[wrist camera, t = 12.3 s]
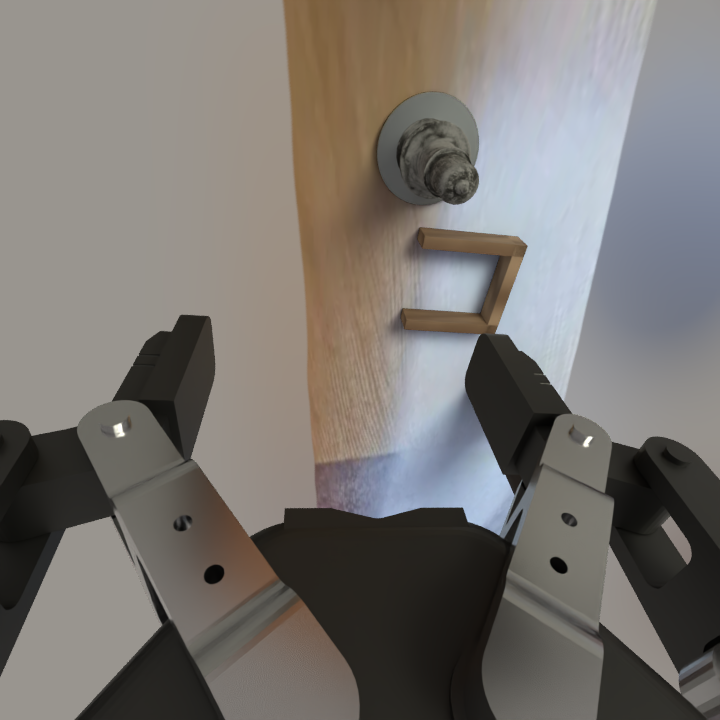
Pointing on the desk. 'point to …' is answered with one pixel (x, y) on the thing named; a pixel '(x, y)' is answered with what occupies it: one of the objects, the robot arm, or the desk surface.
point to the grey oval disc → (405, 116)
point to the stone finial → (437, 161)
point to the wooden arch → (498, 291)
